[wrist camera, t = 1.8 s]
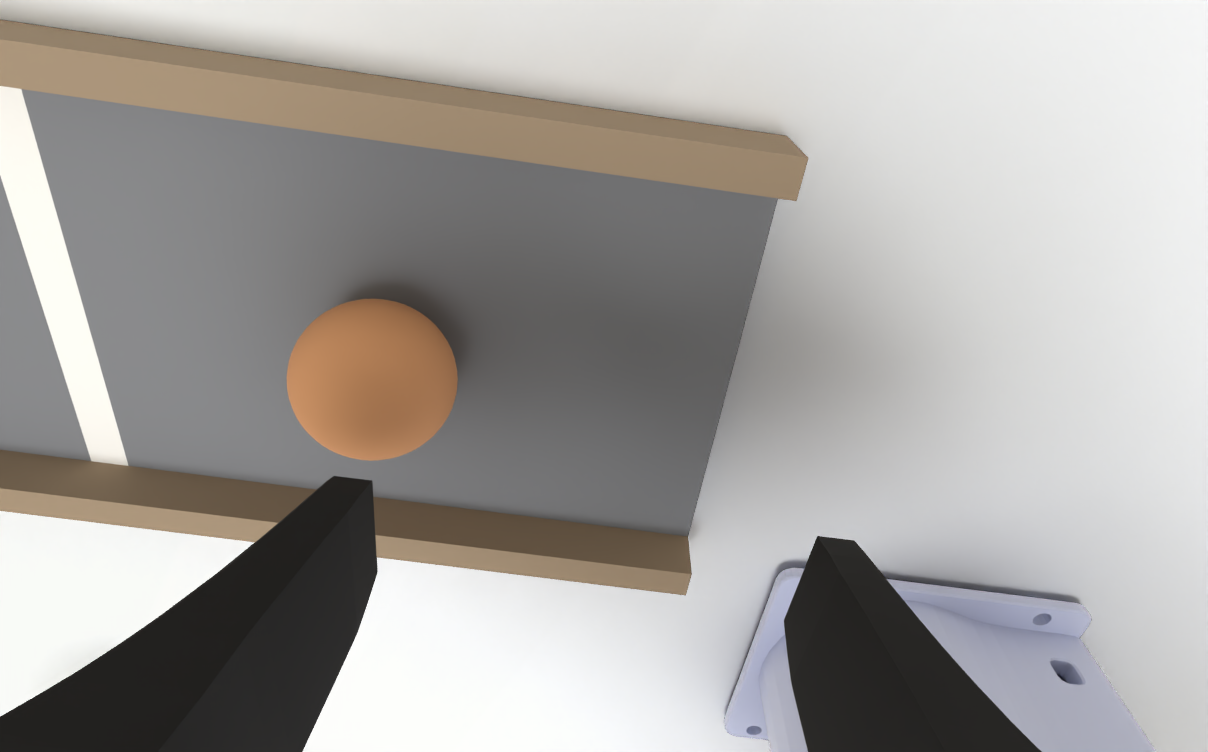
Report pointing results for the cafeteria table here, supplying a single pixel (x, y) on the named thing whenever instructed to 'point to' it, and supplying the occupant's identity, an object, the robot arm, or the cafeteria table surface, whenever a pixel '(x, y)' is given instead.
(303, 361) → the ball
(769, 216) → the lane
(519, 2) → the cafeteria table surface
